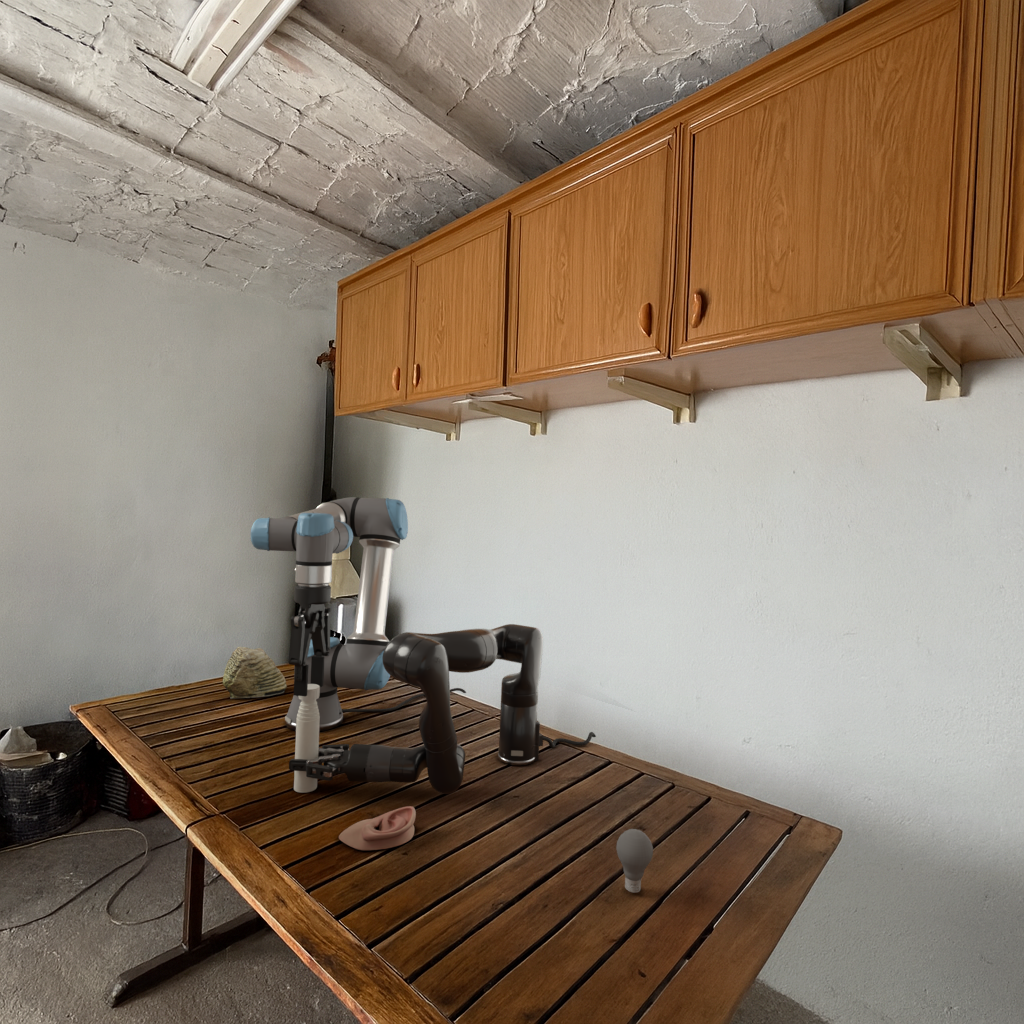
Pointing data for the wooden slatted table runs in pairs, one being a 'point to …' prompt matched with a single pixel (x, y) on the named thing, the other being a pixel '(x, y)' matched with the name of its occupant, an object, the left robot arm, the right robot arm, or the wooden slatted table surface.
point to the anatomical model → (381, 830)
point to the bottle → (306, 743)
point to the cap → (311, 692)
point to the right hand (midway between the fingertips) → (294, 759)
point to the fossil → (252, 674)
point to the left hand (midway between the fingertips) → (308, 690)
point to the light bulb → (634, 857)
